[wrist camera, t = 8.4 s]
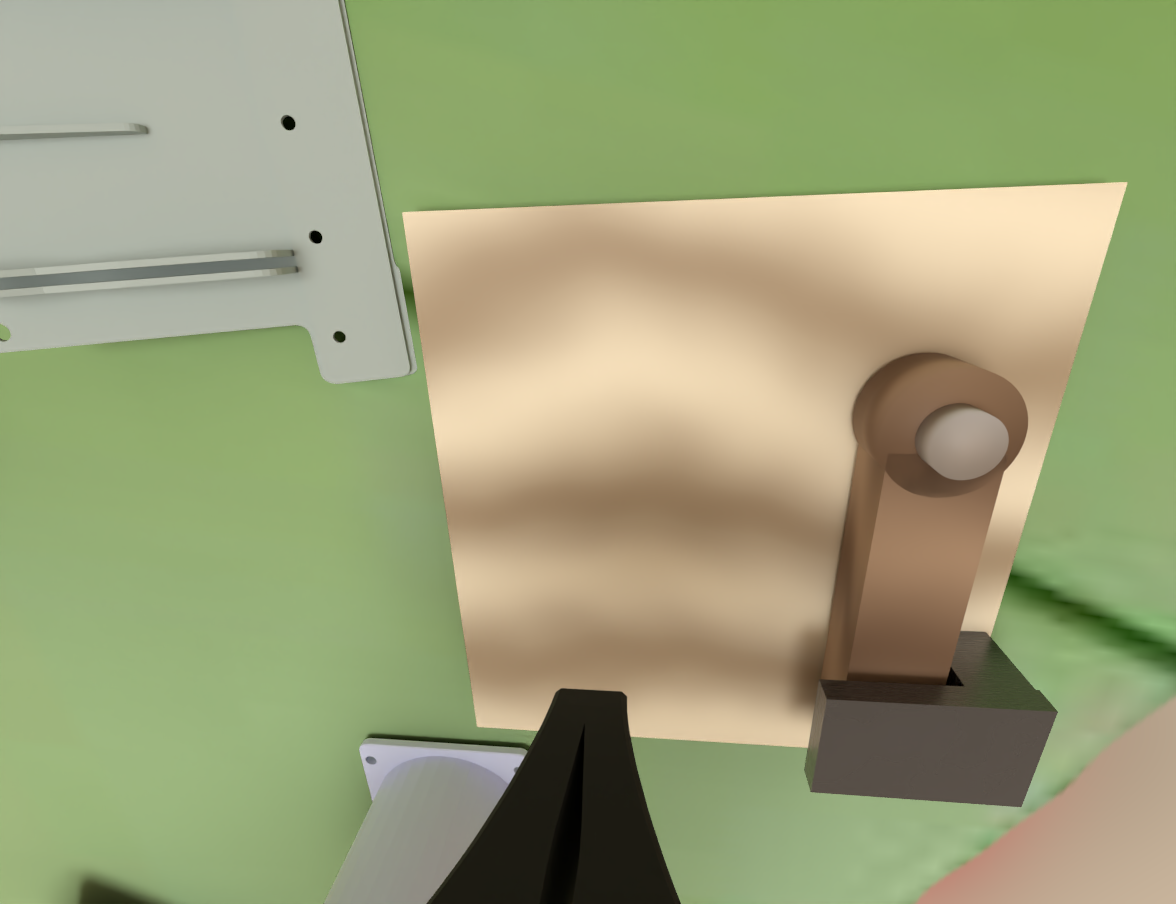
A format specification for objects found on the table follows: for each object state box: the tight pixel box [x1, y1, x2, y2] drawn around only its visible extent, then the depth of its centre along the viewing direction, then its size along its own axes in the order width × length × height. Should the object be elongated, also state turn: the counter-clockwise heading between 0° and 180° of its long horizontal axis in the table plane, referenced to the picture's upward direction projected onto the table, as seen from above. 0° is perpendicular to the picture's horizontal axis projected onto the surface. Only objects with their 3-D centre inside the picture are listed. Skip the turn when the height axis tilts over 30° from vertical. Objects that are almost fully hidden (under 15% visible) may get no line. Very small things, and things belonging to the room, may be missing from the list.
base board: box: [402, 182, 1128, 748], centre depth 19 cm, size 20×19×1 cm
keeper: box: [804, 631, 1058, 807], centre depth 18 cm, size 4×6×3 cm, turn 92°
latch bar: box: [821, 353, 1028, 686], centre depth 17 cm, size 14×4×3 cm, turn 2°
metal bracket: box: [0, 0, 417, 384], centre depth 16 cm, size 14×6×15 cm
